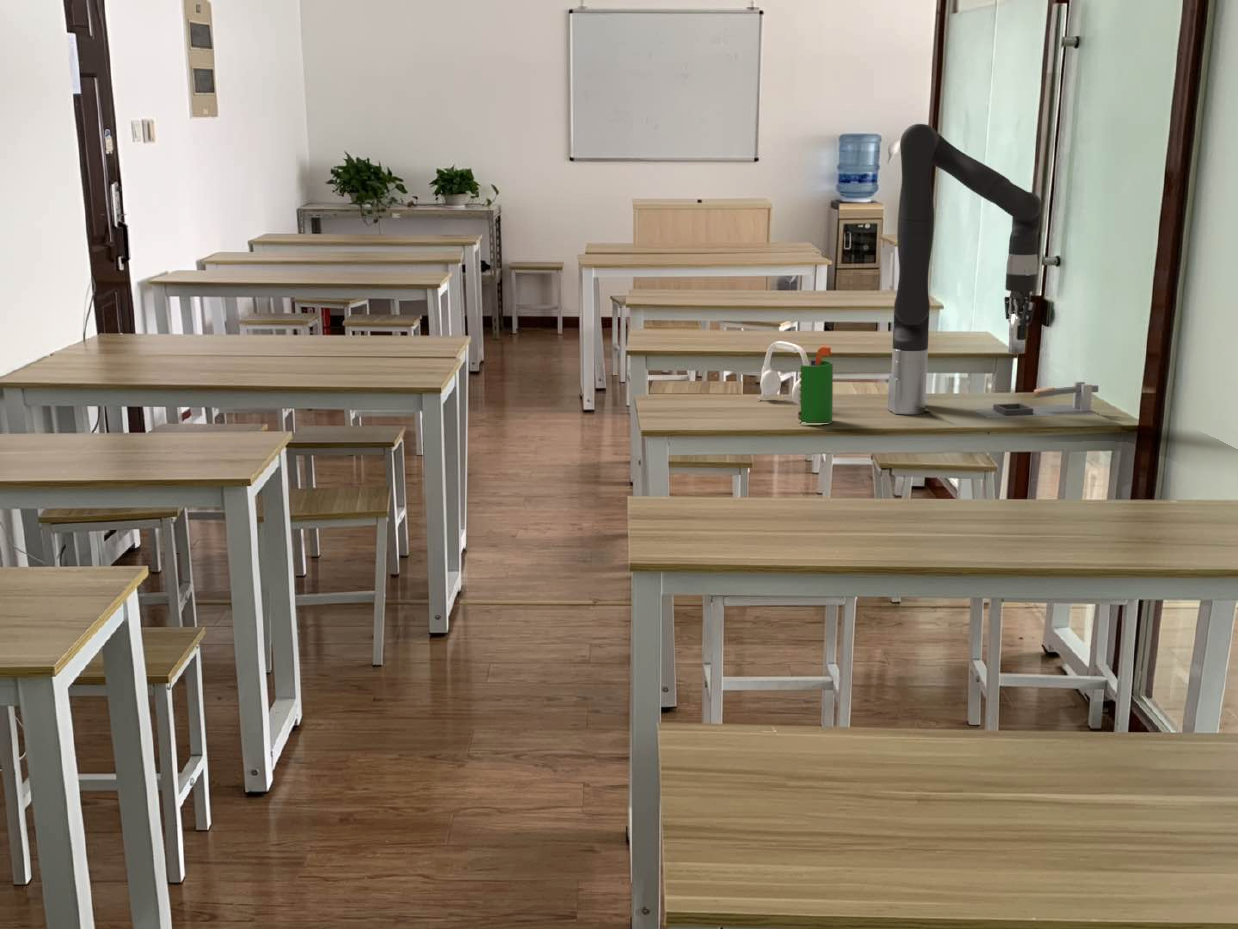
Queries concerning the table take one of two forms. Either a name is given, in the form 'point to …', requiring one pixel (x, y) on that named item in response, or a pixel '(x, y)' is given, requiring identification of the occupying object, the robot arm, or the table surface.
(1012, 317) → the translucent white cylinder
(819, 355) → the green cup with straw
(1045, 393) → the lever
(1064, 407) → the grey flat base
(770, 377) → the headset
